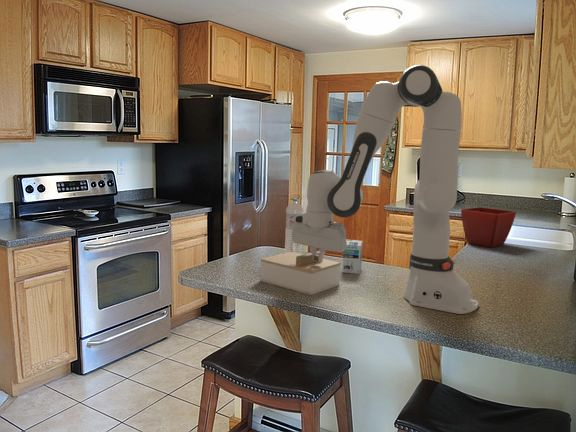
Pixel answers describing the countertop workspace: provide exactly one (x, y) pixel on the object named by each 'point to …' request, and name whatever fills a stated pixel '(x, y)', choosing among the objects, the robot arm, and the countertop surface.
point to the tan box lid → (300, 262)
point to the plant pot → (487, 225)
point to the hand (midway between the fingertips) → (317, 260)
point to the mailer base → (300, 278)
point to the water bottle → (292, 211)
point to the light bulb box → (352, 257)
